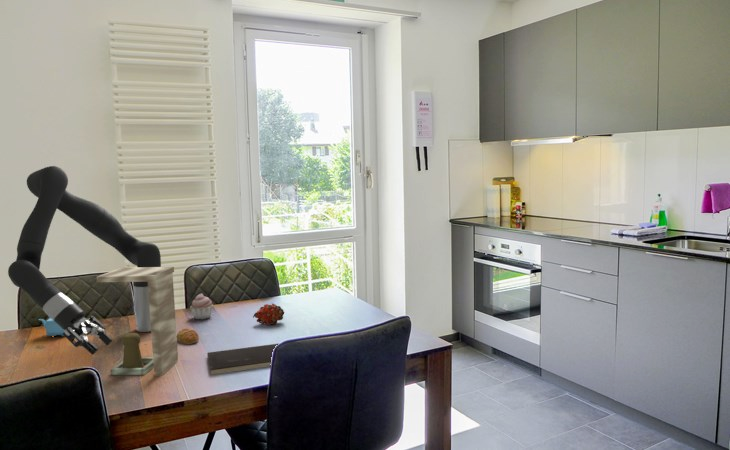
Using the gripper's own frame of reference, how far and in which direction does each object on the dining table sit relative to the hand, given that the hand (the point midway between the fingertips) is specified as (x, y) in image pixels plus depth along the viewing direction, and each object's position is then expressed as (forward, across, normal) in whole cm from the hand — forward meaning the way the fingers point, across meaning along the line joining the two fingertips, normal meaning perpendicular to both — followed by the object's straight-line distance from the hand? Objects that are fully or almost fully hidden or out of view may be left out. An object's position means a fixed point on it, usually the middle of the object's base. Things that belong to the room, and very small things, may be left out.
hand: (103, 347), depth 167 cm
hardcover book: (+35, +6, -25) cm, 44 cm away
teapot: (-20, +34, +30) cm, 50 cm away
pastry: (+17, +26, -7) cm, 32 cm away
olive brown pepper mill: (+11, -1, -2) cm, 12 cm away
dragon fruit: (+34, +46, -24) cm, 62 cm away
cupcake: (+13, +56, -3) cm, 57 cm away
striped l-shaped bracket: (+13, 0, -4) cm, 14 cm away
